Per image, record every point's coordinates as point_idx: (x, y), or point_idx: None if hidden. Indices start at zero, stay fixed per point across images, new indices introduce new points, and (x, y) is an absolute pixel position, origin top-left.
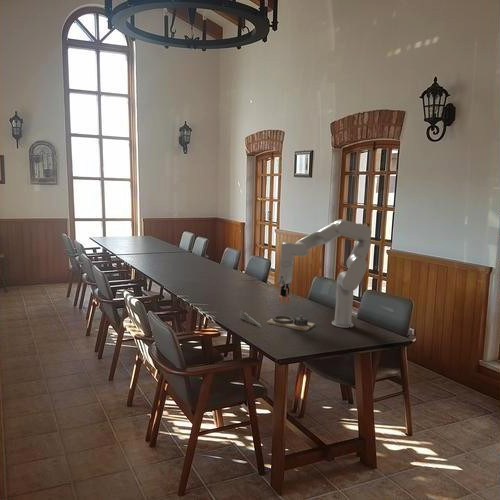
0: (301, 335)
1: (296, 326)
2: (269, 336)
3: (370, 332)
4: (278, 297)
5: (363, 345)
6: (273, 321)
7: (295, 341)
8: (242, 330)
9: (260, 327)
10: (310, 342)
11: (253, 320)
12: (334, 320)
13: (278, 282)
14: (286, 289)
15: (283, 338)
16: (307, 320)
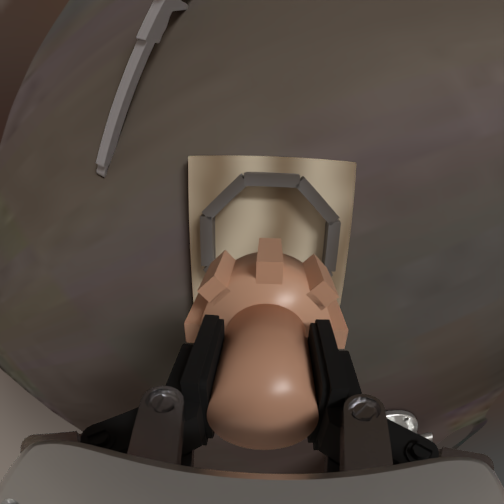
0: (136, 369)
1: None
2: (37, 266)
3: None
4: (215, 268)
5: None
6: (212, 192)
7: (69, 361)
8: (26, 130)
9: (98, 169)
10: (100, 399)
11: (115, 100)
12: (403, 416)
13: (29, 451)
14: (233, 439)
15: (59, 320)
16: None
